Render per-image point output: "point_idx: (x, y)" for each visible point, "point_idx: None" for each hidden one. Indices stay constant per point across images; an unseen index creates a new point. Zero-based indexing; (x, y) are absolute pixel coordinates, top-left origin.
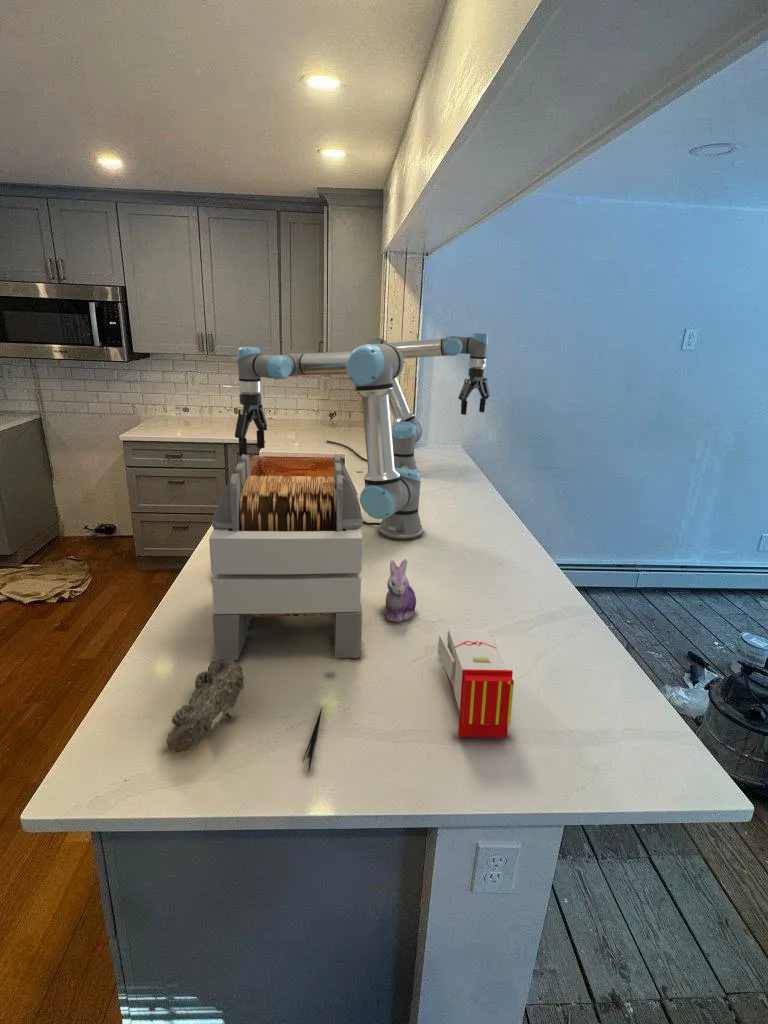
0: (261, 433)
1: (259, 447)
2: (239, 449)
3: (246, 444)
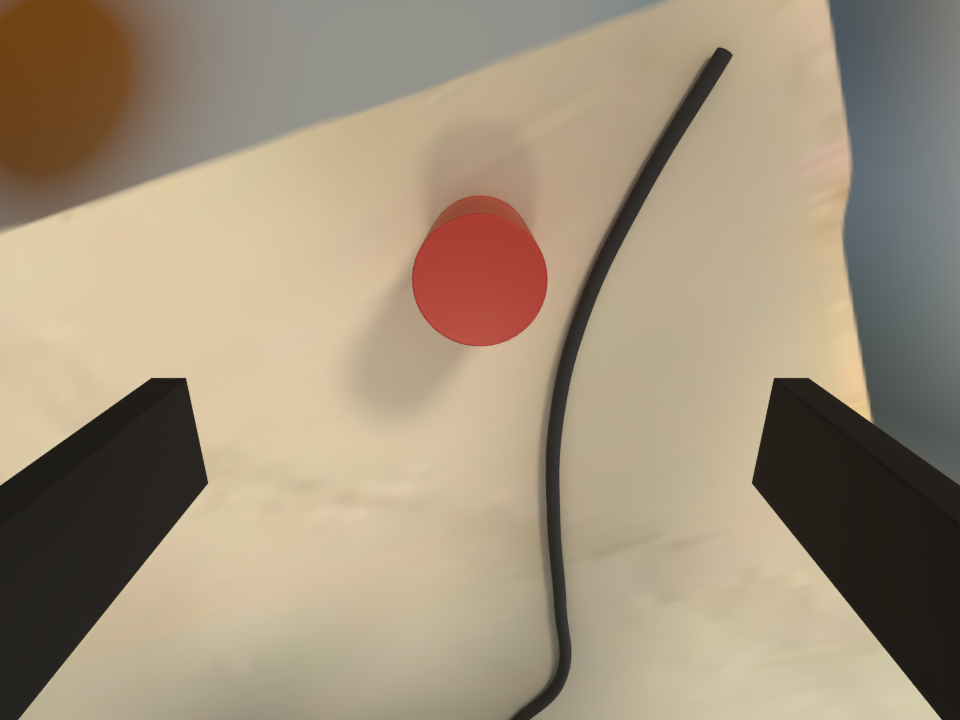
0: (949, 670)
1: (767, 422)
2: (82, 435)
3: (66, 634)
